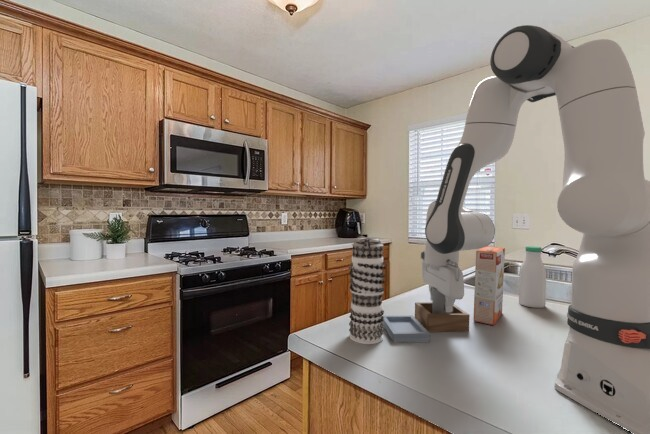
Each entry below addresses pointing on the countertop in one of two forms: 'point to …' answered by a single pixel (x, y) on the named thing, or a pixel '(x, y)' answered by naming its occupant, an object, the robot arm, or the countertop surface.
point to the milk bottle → (532, 279)
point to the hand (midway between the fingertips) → (440, 306)
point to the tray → (405, 329)
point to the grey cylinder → (438, 302)
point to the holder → (441, 319)
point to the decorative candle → (367, 291)
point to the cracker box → (489, 284)
